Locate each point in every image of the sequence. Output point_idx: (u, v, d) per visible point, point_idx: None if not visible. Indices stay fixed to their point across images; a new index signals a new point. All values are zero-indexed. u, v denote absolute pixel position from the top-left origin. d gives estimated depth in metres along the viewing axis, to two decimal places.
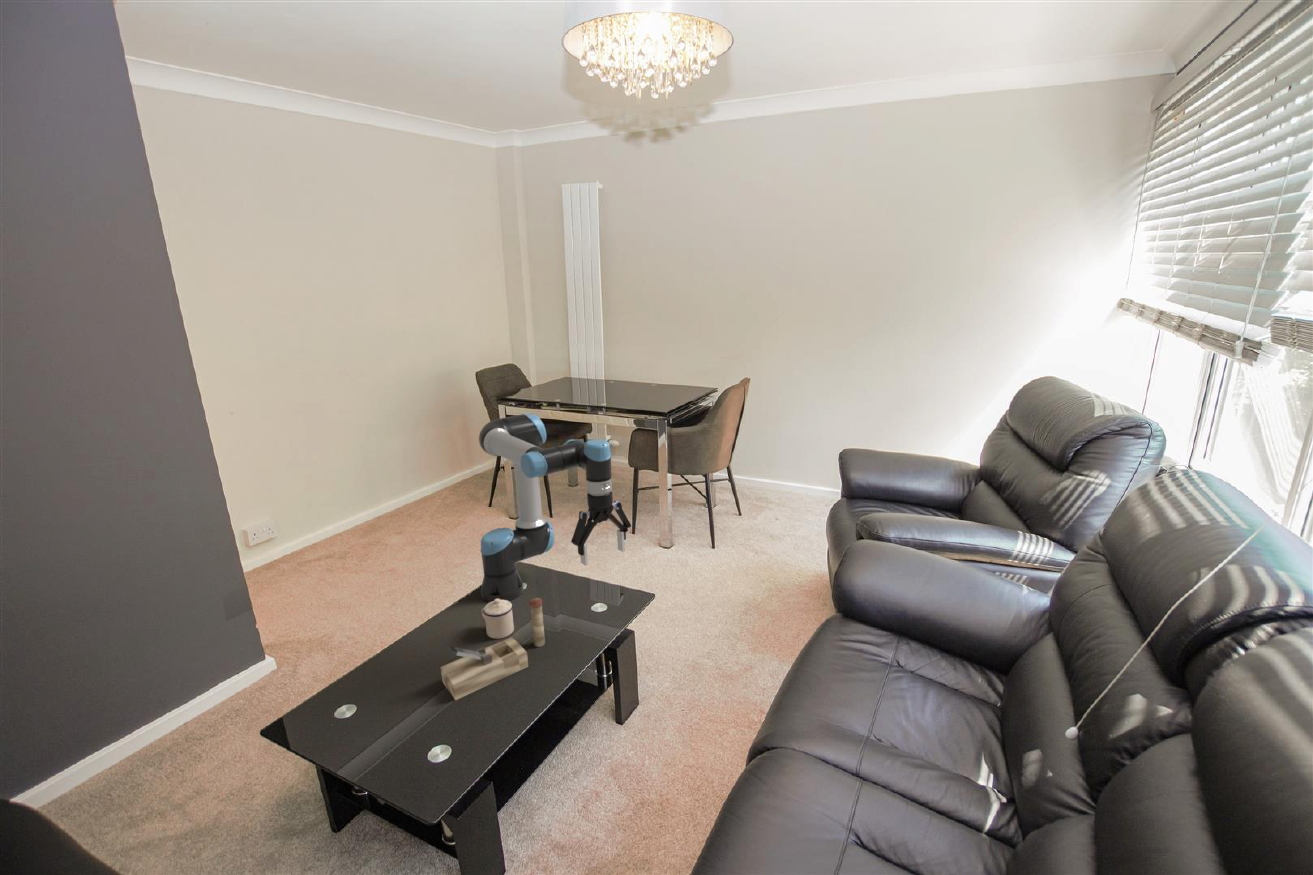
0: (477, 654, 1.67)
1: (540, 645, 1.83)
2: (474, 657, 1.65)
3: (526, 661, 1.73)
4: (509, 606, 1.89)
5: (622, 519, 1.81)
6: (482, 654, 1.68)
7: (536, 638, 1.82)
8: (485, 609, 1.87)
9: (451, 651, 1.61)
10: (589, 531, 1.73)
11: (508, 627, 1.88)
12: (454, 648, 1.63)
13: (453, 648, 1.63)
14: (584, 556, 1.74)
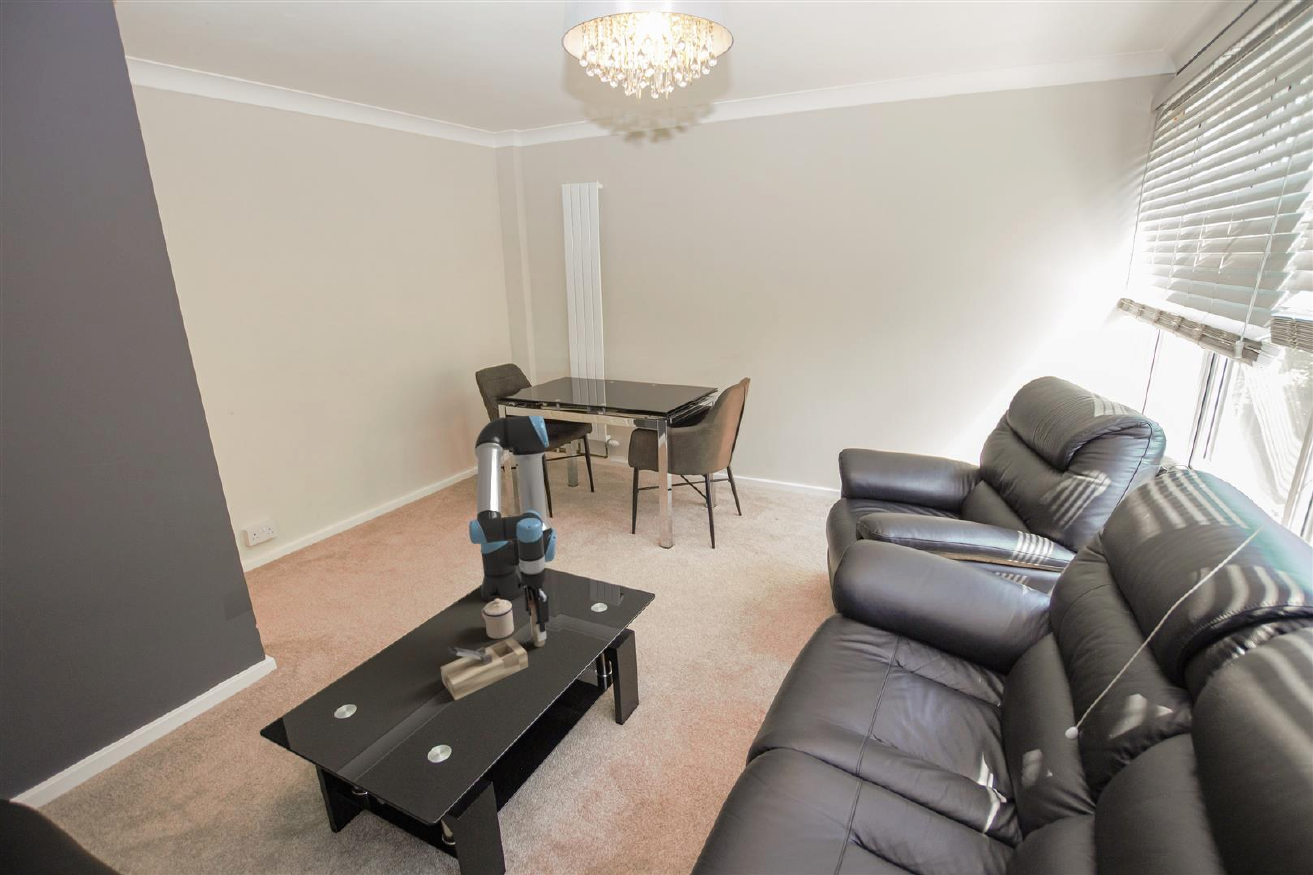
0: (477, 654, 1.67)
1: (540, 645, 1.82)
2: (474, 657, 1.65)
3: (526, 661, 1.73)
4: (509, 606, 1.89)
5: None
6: (482, 654, 1.68)
7: (536, 638, 1.82)
8: (485, 609, 1.87)
9: (451, 651, 1.61)
10: None
11: (508, 627, 1.88)
12: (454, 648, 1.63)
13: (453, 648, 1.63)
14: None
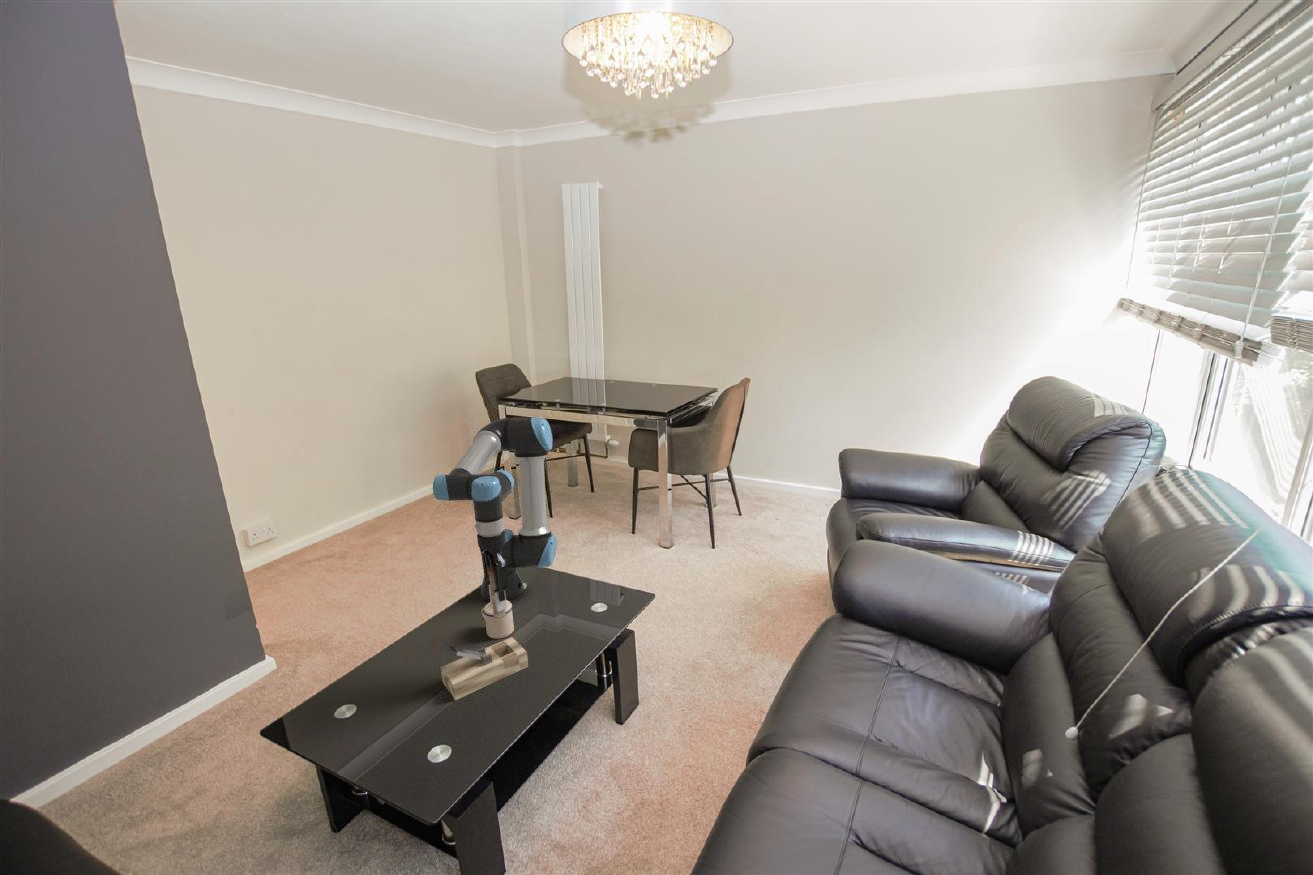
0: (477, 654, 1.67)
1: (500, 616, 1.68)
2: (474, 657, 1.65)
3: (526, 661, 1.73)
4: (509, 606, 1.89)
5: None
6: (482, 654, 1.68)
7: (495, 608, 1.67)
8: (485, 609, 1.87)
9: (451, 651, 1.61)
10: None
11: (508, 627, 1.88)
12: (454, 648, 1.63)
13: (453, 648, 1.63)
14: None
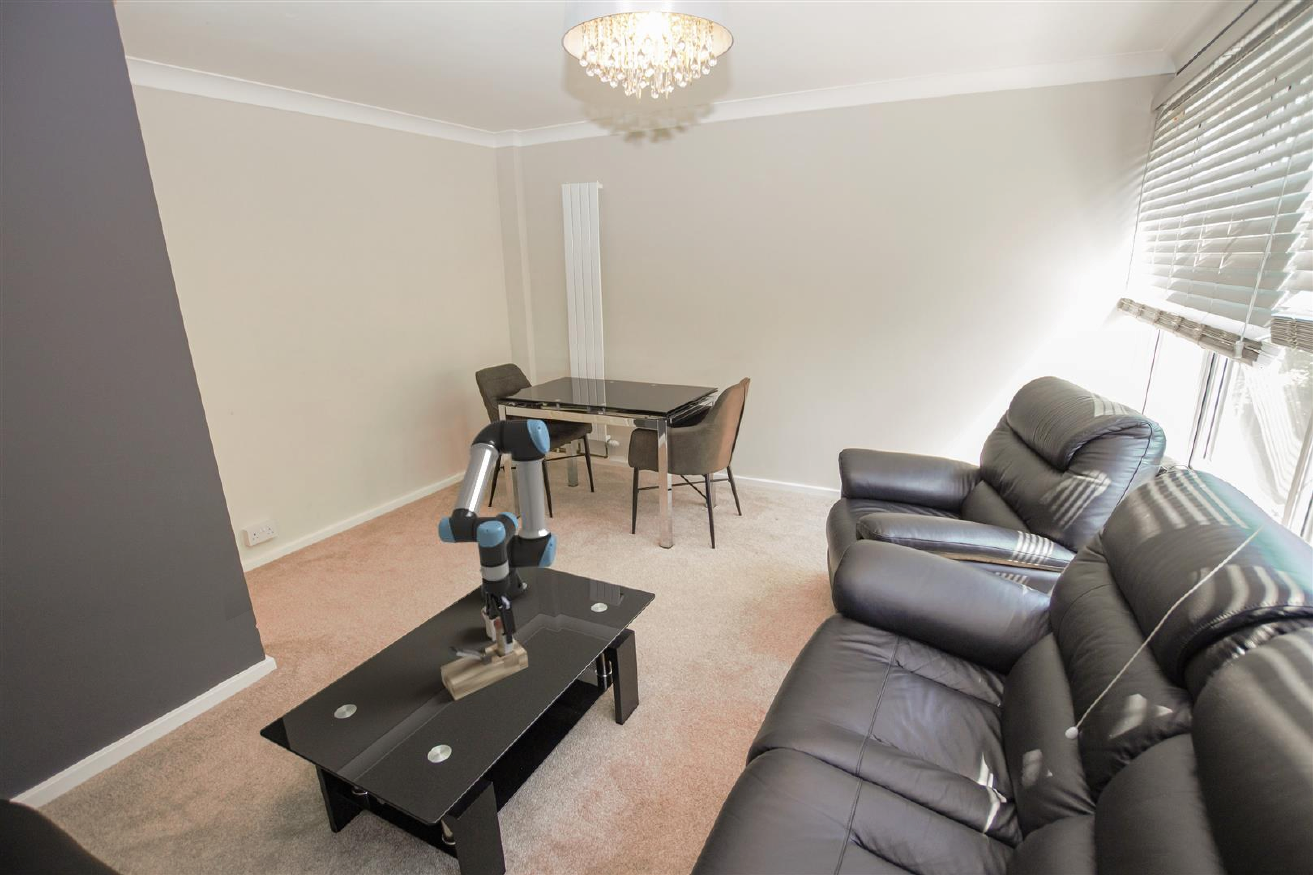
0: (477, 654, 1.67)
1: None
2: (474, 657, 1.65)
3: (526, 661, 1.73)
4: None
5: None
6: (482, 654, 1.68)
7: None
8: (485, 609, 1.87)
9: (451, 651, 1.61)
10: (490, 608, 1.71)
11: None
12: (454, 648, 1.63)
13: (453, 648, 1.63)
14: None
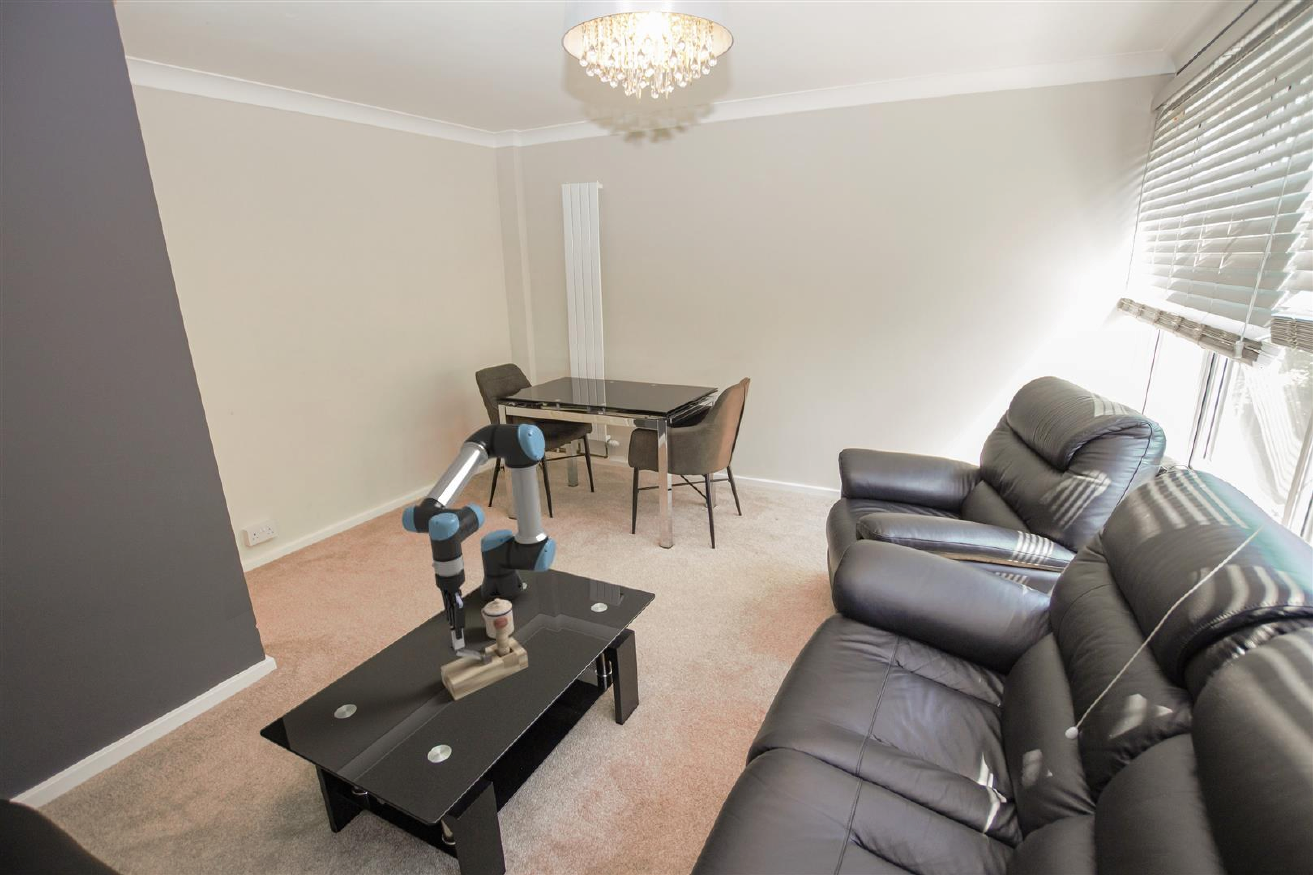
0: (477, 654, 1.67)
1: None
2: (474, 657, 1.65)
3: (526, 661, 1.73)
4: (509, 606, 1.89)
5: None
6: (482, 654, 1.68)
7: None
8: (485, 609, 1.87)
9: (451, 651, 1.61)
10: (448, 610, 1.61)
11: (508, 627, 1.88)
12: None
13: (453, 648, 1.63)
14: None
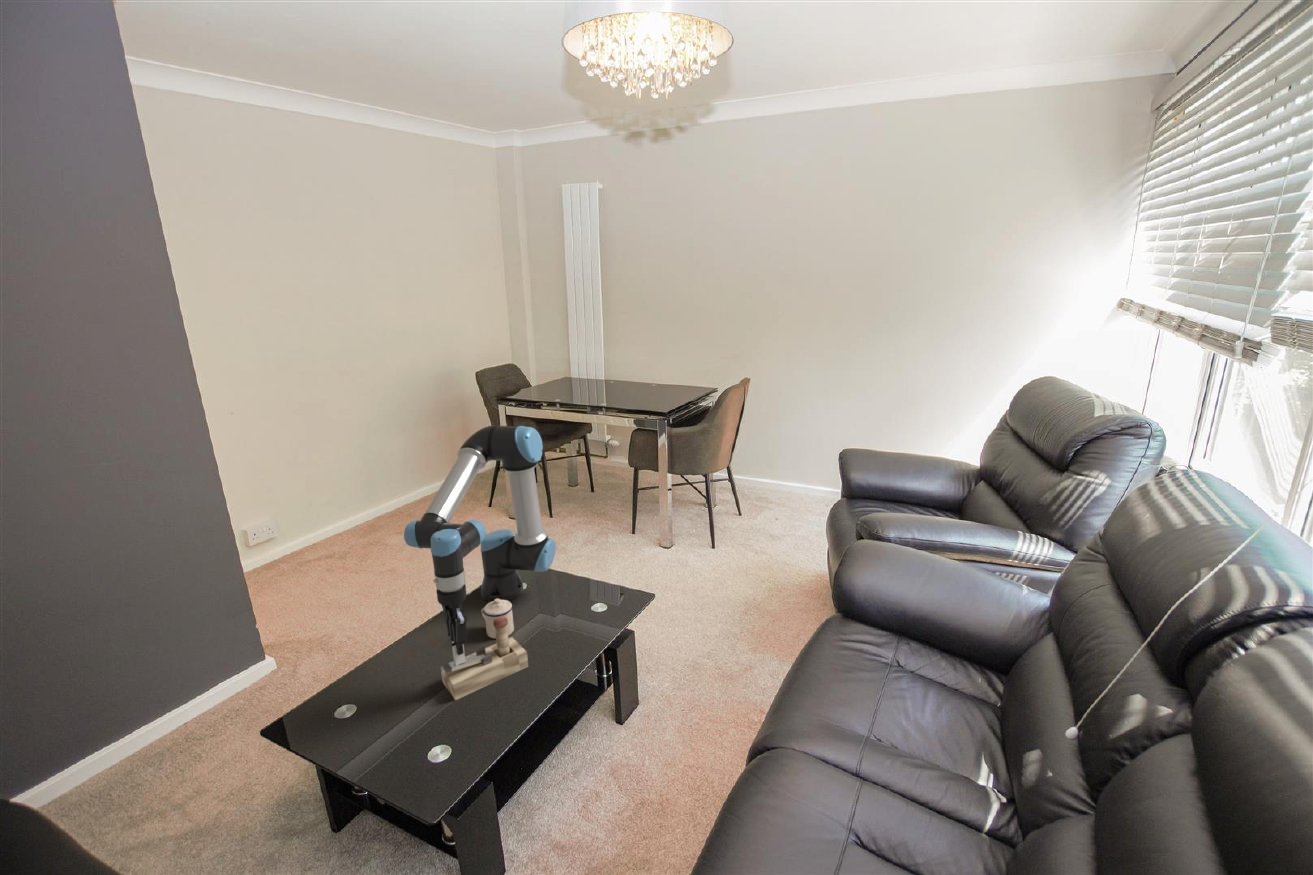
0: (474, 659, 1.66)
1: None
2: (472, 664, 1.65)
3: (526, 661, 1.73)
4: (509, 606, 1.89)
5: None
6: (480, 656, 1.68)
7: None
8: (485, 609, 1.87)
9: (445, 670, 1.61)
10: (449, 625, 1.62)
11: (508, 627, 1.88)
12: (448, 664, 1.63)
13: (447, 665, 1.62)
14: None
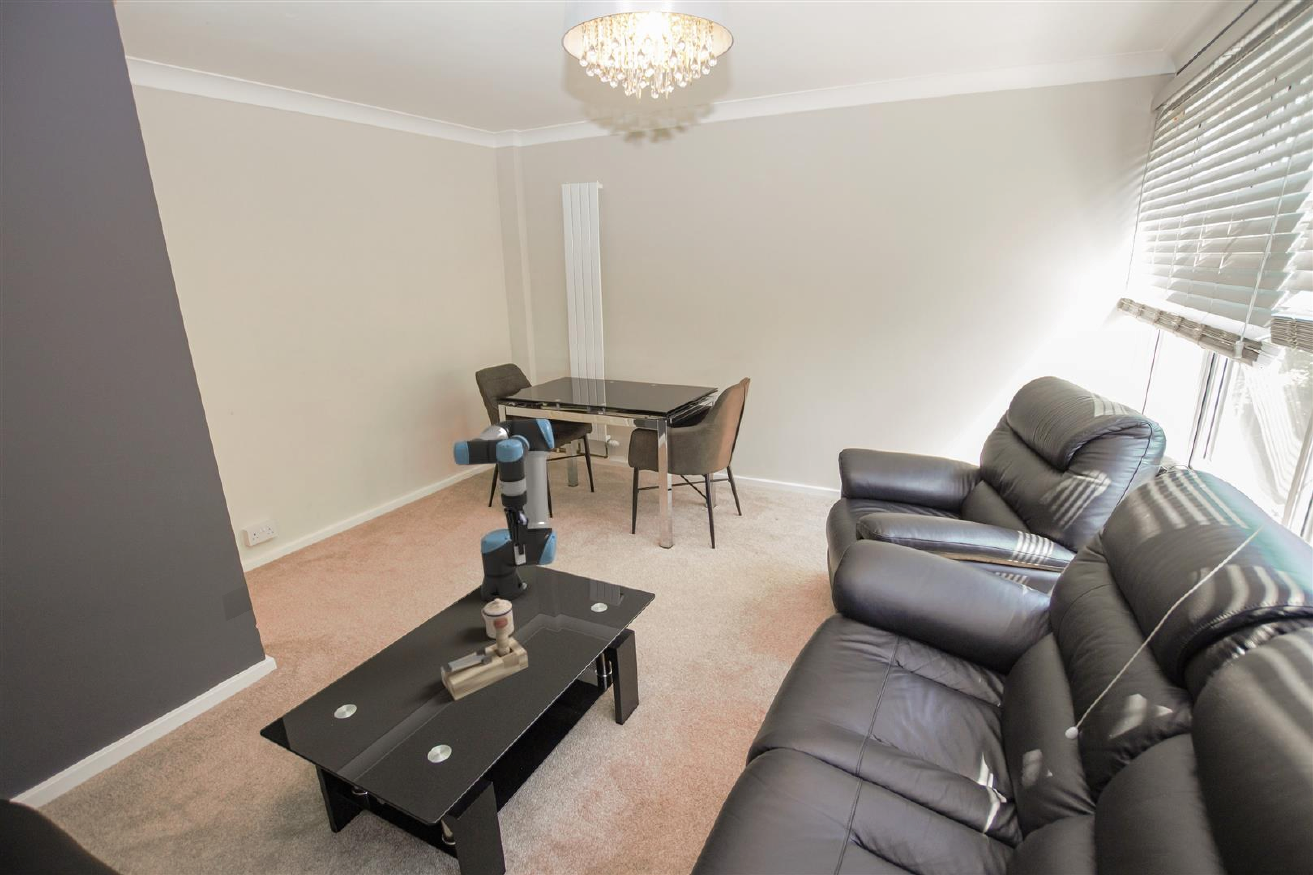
0: (474, 659, 1.66)
1: None
2: (472, 664, 1.65)
3: (526, 661, 1.73)
4: (509, 606, 1.89)
5: None
6: (480, 656, 1.68)
7: None
8: (485, 609, 1.87)
9: (445, 670, 1.61)
10: (512, 528, 1.78)
11: (508, 627, 1.88)
12: (448, 664, 1.63)
13: (447, 665, 1.62)
14: None
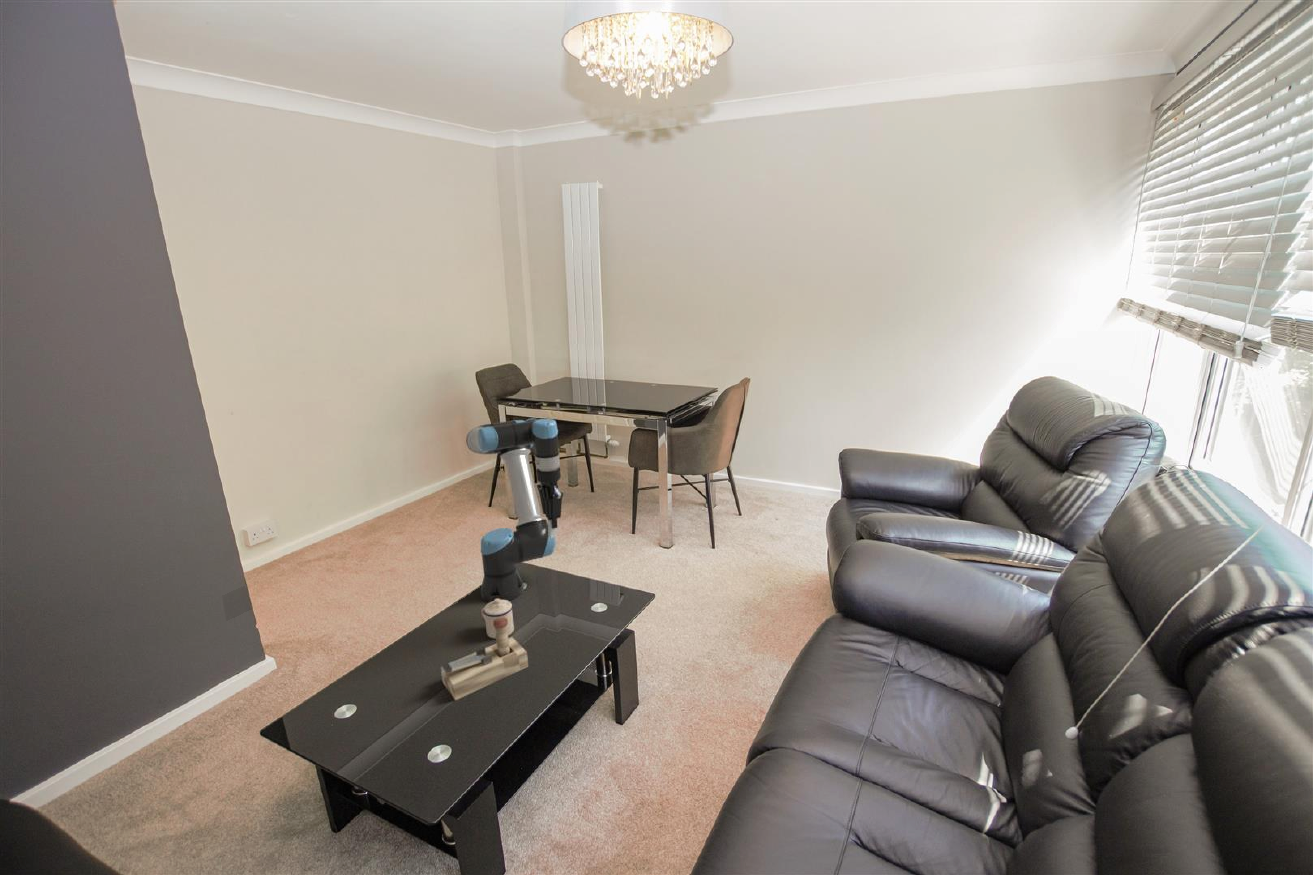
0: (474, 659, 1.66)
1: None
2: (472, 664, 1.65)
3: (526, 661, 1.73)
4: (509, 606, 1.89)
5: None
6: (480, 656, 1.68)
7: None
8: (485, 609, 1.87)
9: (445, 670, 1.61)
10: (545, 503, 1.89)
11: (508, 627, 1.88)
12: (448, 664, 1.63)
13: (447, 665, 1.62)
14: None
